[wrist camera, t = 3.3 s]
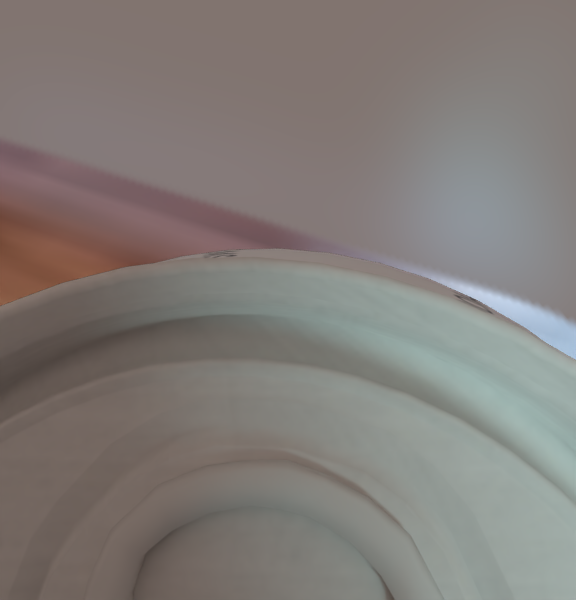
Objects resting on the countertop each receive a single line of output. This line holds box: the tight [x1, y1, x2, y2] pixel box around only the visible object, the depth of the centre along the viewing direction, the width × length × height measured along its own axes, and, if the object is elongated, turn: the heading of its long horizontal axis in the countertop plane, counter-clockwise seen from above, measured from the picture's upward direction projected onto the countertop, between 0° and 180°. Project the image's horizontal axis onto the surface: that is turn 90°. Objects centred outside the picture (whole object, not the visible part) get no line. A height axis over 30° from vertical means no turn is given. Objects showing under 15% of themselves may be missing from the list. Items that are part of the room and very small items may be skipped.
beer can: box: [0, 249, 576, 600], centre depth 9 cm, size 6×6×15 cm
